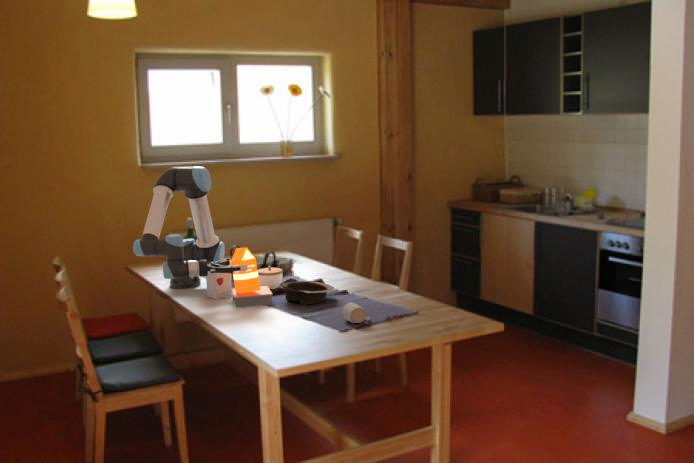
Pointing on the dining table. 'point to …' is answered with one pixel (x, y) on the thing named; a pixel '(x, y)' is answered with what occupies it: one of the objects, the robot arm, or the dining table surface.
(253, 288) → the orange juice
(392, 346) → the dining table surface
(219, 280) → the supplement box
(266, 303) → the podium
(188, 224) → the wine bottle
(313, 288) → the stone bowl
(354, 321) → the ceramic mug
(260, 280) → the lidded bowl
